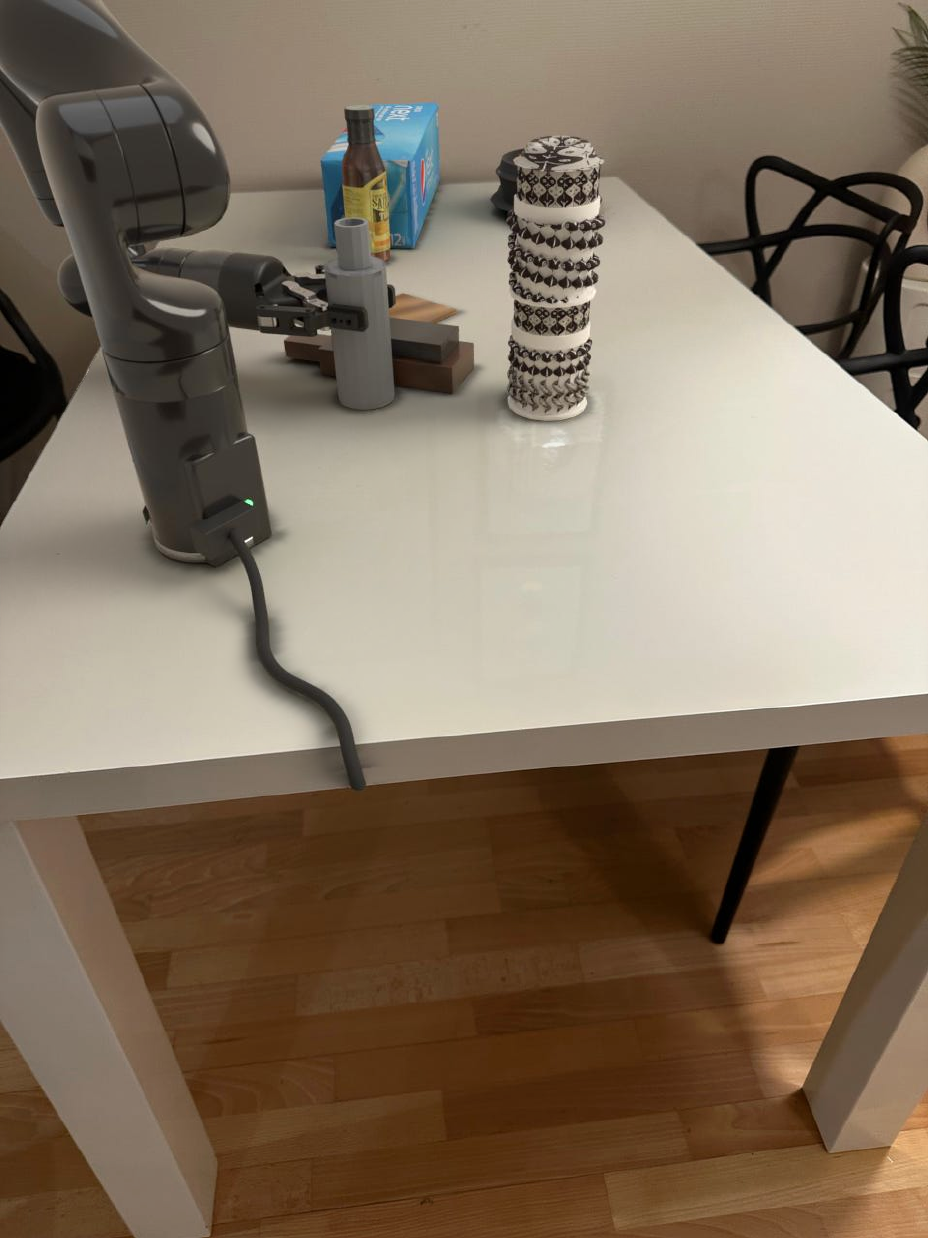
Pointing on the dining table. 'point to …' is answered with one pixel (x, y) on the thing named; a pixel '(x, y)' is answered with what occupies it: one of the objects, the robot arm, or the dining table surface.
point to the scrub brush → (404, 354)
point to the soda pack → (393, 169)
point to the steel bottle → (369, 352)
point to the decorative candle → (553, 276)
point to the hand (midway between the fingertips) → (380, 307)
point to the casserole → (508, 181)
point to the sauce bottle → (366, 178)
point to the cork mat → (419, 309)
